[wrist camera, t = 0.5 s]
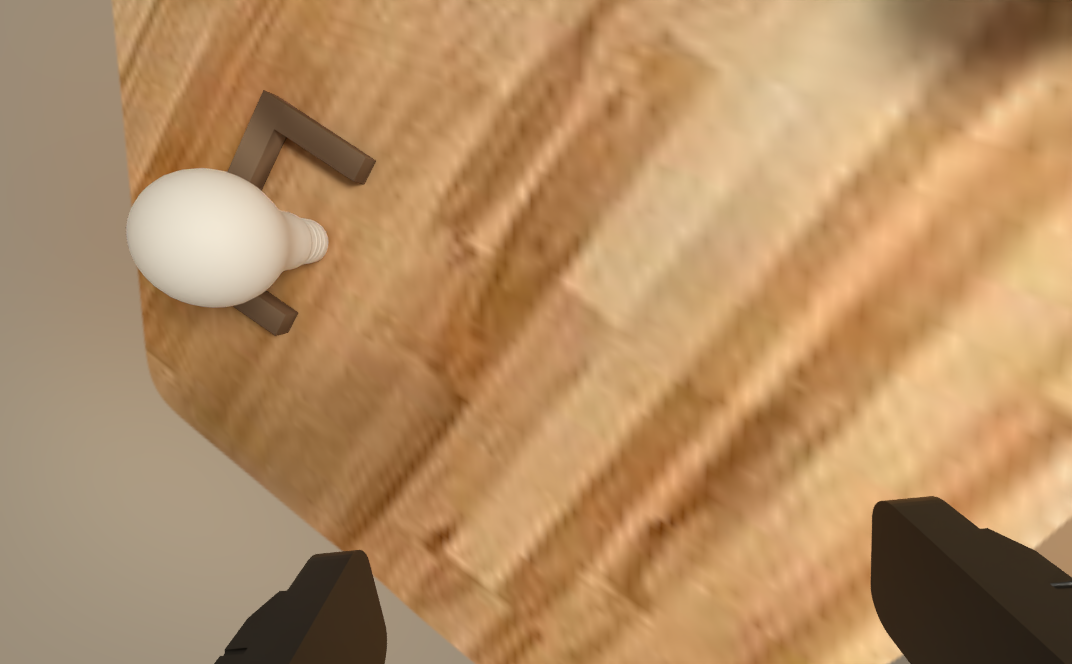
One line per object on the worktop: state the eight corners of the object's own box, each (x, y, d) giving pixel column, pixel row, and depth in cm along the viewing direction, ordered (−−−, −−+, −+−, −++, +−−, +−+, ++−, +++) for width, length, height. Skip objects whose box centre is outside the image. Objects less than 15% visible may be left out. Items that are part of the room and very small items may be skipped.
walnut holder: (277, 96, 30) (263, 90, 29) (376, 160, 29) (365, 157, 28) (199, 271, 33) (183, 272, 31) (288, 332, 32) (275, 335, 31)
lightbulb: (343, 309, 31) (195, 341, 21) (258, 265, 32) (71, 274, 21) (379, 215, 30) (240, 198, 19) (289, 171, 30) (106, 130, 20)
